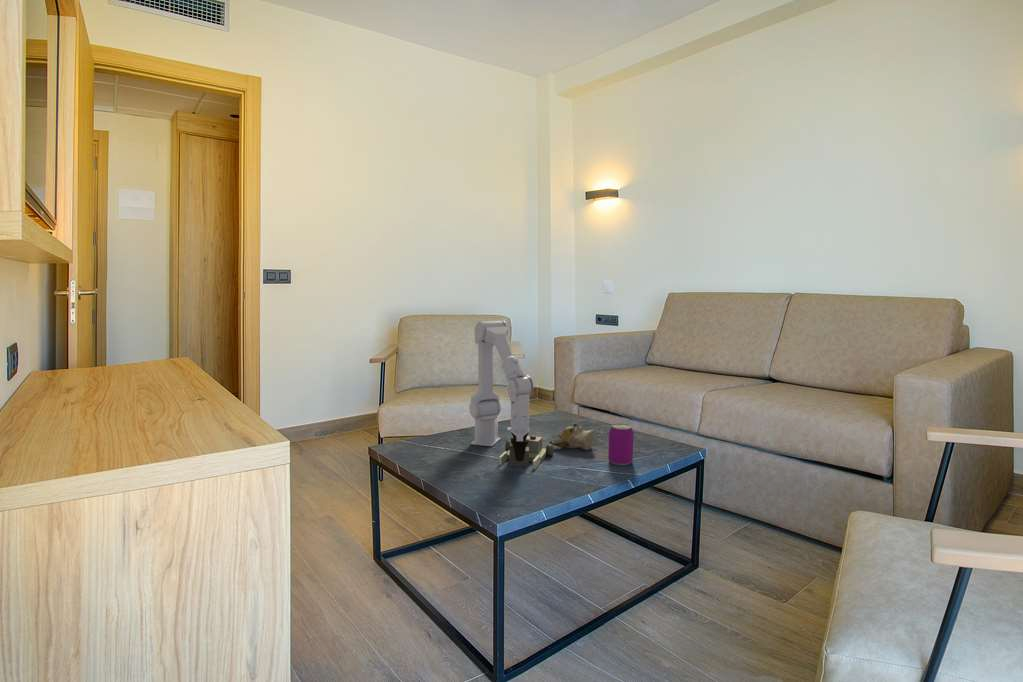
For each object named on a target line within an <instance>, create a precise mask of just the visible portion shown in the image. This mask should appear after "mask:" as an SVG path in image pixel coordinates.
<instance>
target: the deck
mask: <svg viewBox="0 0 1023 682" xmlns="http://www.w3.org/2000/svg"><path fill="white" fill-rule="evenodd" d="M526 439H529V442H528V444H527V446H526V447H529V462H530V463H532V470H536V469H537V467H538V466H539V465H540V464H541V463H542V462H543V461H544V460H545V458H546V457H547V456H548V457H549V456H551V457H553V455H554V451H555V449H554V448H555V445H553V444H550V443H549V444H548V443H547V445H546V447H545V448H543V437H542V436H537V435H535V434H534V435H533V434H531V435H527V438H526ZM510 442H511V439H509V440H506V442H505V445H504V448H505V451H504V452H502V454H500V456H499V457H498V465H499V466H503V464H504V463H505V462H506V461H507V460H509V457H510Z"/></svg>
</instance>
